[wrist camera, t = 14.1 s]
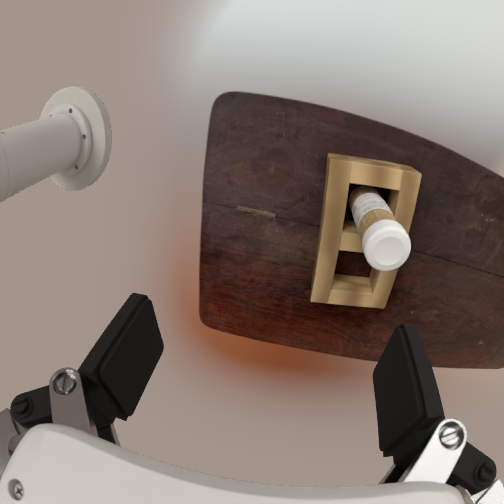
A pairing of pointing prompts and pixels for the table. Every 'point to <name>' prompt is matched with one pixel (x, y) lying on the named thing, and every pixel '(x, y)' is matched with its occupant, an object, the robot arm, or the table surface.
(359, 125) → the table surface
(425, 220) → the table surface
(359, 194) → the sprinkles bottle
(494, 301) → the table surface
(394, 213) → the holder
